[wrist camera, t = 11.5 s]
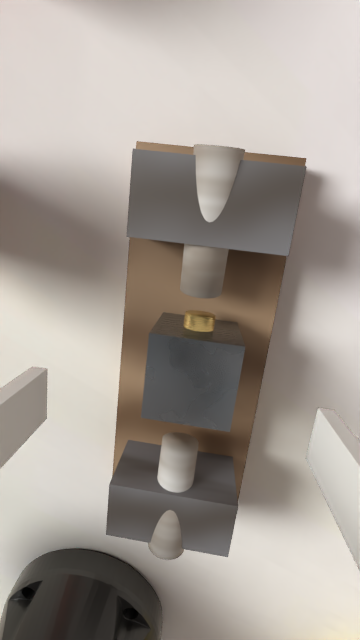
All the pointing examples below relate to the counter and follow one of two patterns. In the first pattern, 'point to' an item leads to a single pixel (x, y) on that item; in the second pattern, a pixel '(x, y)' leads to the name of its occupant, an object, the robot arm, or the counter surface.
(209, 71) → the counter surface
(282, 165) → the shaft stand
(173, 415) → the coupler
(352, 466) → the robot arm
